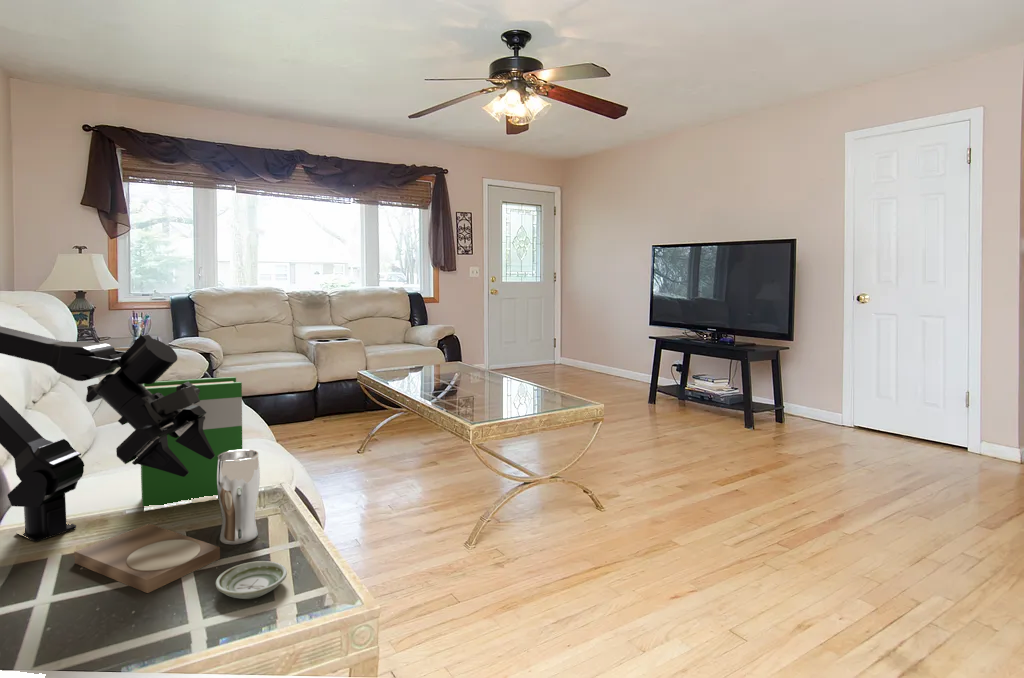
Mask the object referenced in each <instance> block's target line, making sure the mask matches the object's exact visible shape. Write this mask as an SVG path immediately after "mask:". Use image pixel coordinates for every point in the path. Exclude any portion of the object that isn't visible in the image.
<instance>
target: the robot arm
mask: <svg viewBox="0 0 1024 678" xmlns="http://www.w3.org/2000/svg"><path fill="white" fill-rule="evenodd" d="M0 354H1V355H6V356H9V357H14V358H17V359H22V360H26V361H31V362H35V363H39V364H43V365H46V366H47V367H51V368H52V369H53V370H54V371H55V372H56V373H58V374H60V375H62V376H64V377H67V378H69V379H71V380H73V381H77V382H84V381H85V382H86V381H89V380H90V381H91V380H93V379H97V378H101V377H103V378H102V379H101V380H100V381H98V383H94V384H91V385H88V386H87V387H86V388H87V393H86V397H85V401H86V402H87V403H92V402H95V401H98V400H101V399H103V401H104V402H106V403H107V405H109V407H111V408H112V409H113V410H114V411H115V412H116V413H117V414H118V415H119V416H120V418H119V419H118V420H117V422H118V423H120V425H121V426H123V425H127V424H128V425H129V426H130V427H131V428H132V429H134V431H132V432H131V433H130V435H128V437H126V438H125V439H124V440H123V441H122V442H121V443H120V444H119V445H118V446H117V447H116V450H115V451H116V457H117V458H118V459H119V460H120V461H121V462H122V463H123V464H124V465H126V464H129V463H130V462H132V465H135V466H136V465H140V466H141V465H144V466H148V467H152V468H156V469H159V470H162V471H166V472H169V473H172V474H175V475H179V476H182V477H185V476H186V475H187V474H188V473H189V471H188V470H187V469H186V467H185V466H184V465H183V463H182V462H181V461H180V460H179V459H178V458H177V457H176V455H175V454H174V453H173V452H172V451H171V450H170V449H169V447H168V440H167V435H170V436H171V437H174V438H178V437H179V438H178V439H177V440H176V442H177V443H179V444H181V445H183V446H185V447H187V448H188V449H190V450H192V451H194V452H196V453H198V454H199V455H201V456H203V457H205V458H207V459H210V460H211V459H212V458H214V457H215V454H214V452H213V450H212V448H211V446H210V444H209V442H208V440H207V438H206V436H205V433H204V431H203V422H204V420H205V416H204V415H205V414H206V411H205V410H204V409H202V408H201V407H200V406H199V405H192V404H193V403H194V404H195V403H197V402H200V399H199V397H198V395H199V392H200V389H198V388H196V387H195V385H192V384H191V383H190V382H186V383H183V384H182V385H179V386H177V387H176V392H174V393H171V394H169V395H167V396H163V395H162V394H161V393H158V392H157V393H154V394H151V393H150V392H149V391H148V390H147V389H146V388H145V387H144V386H143V385H142V384H144V383H145V384H153V383H154V382H156V381H158V380H159V379H160V378H161V377H162V376H163V375H164V373H166V372H167V371H168V370H169V369H170V368H171V367H172V366H174V364H175V363H176V362H177V361H178V355H177V353H176V351H175V350H174V349H173V348H172V347H171V346H170V345H167V344H166V343H165V342H162V341H161V340H158V339H157V338H156V339H155V338H153V337H152V336H150V334H142V335H139V337H137V338H136V339H135V341H134V342H133V344H132V345H131V346H130V347H129V348H128V349H127V350H126V351H122V350H116V349H115V347H114V346H112V345H111V344H109V343H106V342H105V343H103V342H91V341H64V340H58V339H54V338H50V337H47V336H42V335H38V334H34V333H30V332H25V331H21V330H18V329H14V328H11V327H10V328H9V327H5V326H1V325H0ZM116 369H118V370H117V371H116ZM115 371H116V372H115ZM114 372H115V373H114ZM190 405H192V406H190ZM188 406H190V407H188ZM186 407H187V408H186ZM183 408H185V409H183ZM180 409H183V410H182V411H181V410H180ZM175 416H176V417H175ZM174 417H175V418H174ZM0 445H1V446H2V447H3V448H4V449H5V451H7V452H8V453H9V454H10V456H12V458H13V459H14V465H15V467H14V468H15V473H16V476H17V478H18V479H19V480H20V482H19V483H18V484H17V485H16V486H14V488H13V489H12V490H11V491H10V492H8V494H7V498H8V500H9V503H10V505H11V507H19V508H21V507H23V512H24V513H23V514H24V515H23V517H24V518H23V519H24V528H25V533H24V534H23V535H24V536H26V537H28V538H29V539H31V540H30V541H32V540H33V541H32V542H39V541H42V540H45V539H48V538H51V537H53V536H57V535H60V534H63V533H65V531H66V532H69V531H71V530H70V529H72V530H75V529H76V528H77V524H74V523H72V524H71V525H69V524H68V525H67V524H66V522H67V509H66V508H67V506H66V505H67V504H66V494H67V493H69V492H71V491H74V490H75V489H76V488H77V485H78V482H79V481H80V480H81V478H82V477H83V475H84V473H85V472H84V467H85V462H84V460H83V459H82V458H81V457H80V456H82V453H81V452H78V451H77V450H76V449H74V448H73V447H72V445H71V443H70V442H69V441H68V440H66V439H65V438H62V439H58V440H57V441H52V440H48V439H46V438H45V437H43V436H42V434H41V433H39V432H38V430H36V428H35V427H33V426H32V424H30V423H29V422H28V421H27V419H25V418H24V416H23V415H22V414H21V413H20V412H18V411H17V409H16V408H15V407H13V406H12V405H11V403H10V402H8V401H7V400H6V399H5V398H4V397H3V395H2V394H0ZM74 528H75V529H74ZM68 530H69V531H68ZM62 532H63V533H62ZM59 533H60V534H59ZM50 536H51V537H50ZM29 539H28V540H29Z"/></svg>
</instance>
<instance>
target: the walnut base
mask: <svg viewBox="0 0 1024 678" xmlns="http://www.w3.org/2000/svg"><path fill="white" fill-rule="evenodd" d="M218 560H219V561H220V560H221V547H220V546H217V545H214V544H212V543H208V542H206V541H203V540H199V539H197V538H193V537H190V536H187V535H184V534H181V533H178V532H176V531H172V530H169V529H167V528H163V527H160V526H157V525H154V524H153V523H147V524H144V525H141V526H139V527H135V528H134V529H130V530H128V531H125V532H122V533H120V534H117V535H115V536H112V537H110V538H106V539H104V540H101V541H98V542H96V543H93V544H90V545H88V546H84V547H82V548H80V549H76V550H74V564H76V565H79V566H81V567H83V568H85V569H88V570H91V571H93V572H94V573H98V574H100V575H102V576H105V577H107V578H110V579H112V580H114V581H117V582H119V583H122V584H124V585H126V586H129V587H131V588H134V589H136V590H139V591H140V592H141V591H142V592H144V593H146V594H149V593H151V592H154V591H156V590H158V589H159V588H160V589H161V588H162V587H164V586H165V585H169V584H170V583H172V582H174V581H176V580H178V579H181V578H183V577H185V576H187V575H188V574H191V573H193V572H195V571H198V570H200V569H202V568H204V567H206V566H208V565H210V564H212V563H214V562H217V561H218Z"/></svg>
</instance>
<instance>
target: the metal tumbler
mask: <svg viewBox="0 0 1024 678" xmlns="http://www.w3.org/2000/svg"><path fill="white" fill-rule="evenodd" d="M260 471H261V470H260V460H259V452H258V451H256V450H254V449H244V448H242V449H240V450H231V451H227V452H223V453H221V454H219V455H218V456H217V468H216V488H217V495H218V499H219V500H218V502H219V509H220V513H221V530H220V535H219V541H220V542H221V543H222V544H225V545H230V546H231V545H233V546H234V545H242V544H245V543H249V542H251V541H253V540H254V539H256V538H257V536H258V532H259V531H258V528H257V523H256V510H257V509H256V508H257V503H258V497H259V492H260V484H261V483H260V481H261V480H260V479H261V472H260Z"/></svg>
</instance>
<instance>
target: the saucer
mask: <svg viewBox="0 0 1024 678" xmlns="http://www.w3.org/2000/svg"><path fill="white" fill-rule="evenodd" d="M287 575H288V570H287V568H286V566H285V565H283V564H282V563H279V562H275V561H271V560H270V561H269V560H257V561H249V562H244V563H241V564H237V565H235V566H232V567H230V568H227V569H226V570H225V571H223V572H222V573H220V574H219V576H218V577H217V578H216V580H215V587H216V589H217V590H218V592H220V593H222V594H224V595H226V596H228V597H231V598H233V599H240V600H252V599H257V598H259V597H262V596H264V595H266V594H268V593H270V592H272V591H273V590H275V589H276V588H278V586H279V585H281V583H282V582H284V581H285V579H286V578H287Z"/></svg>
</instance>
